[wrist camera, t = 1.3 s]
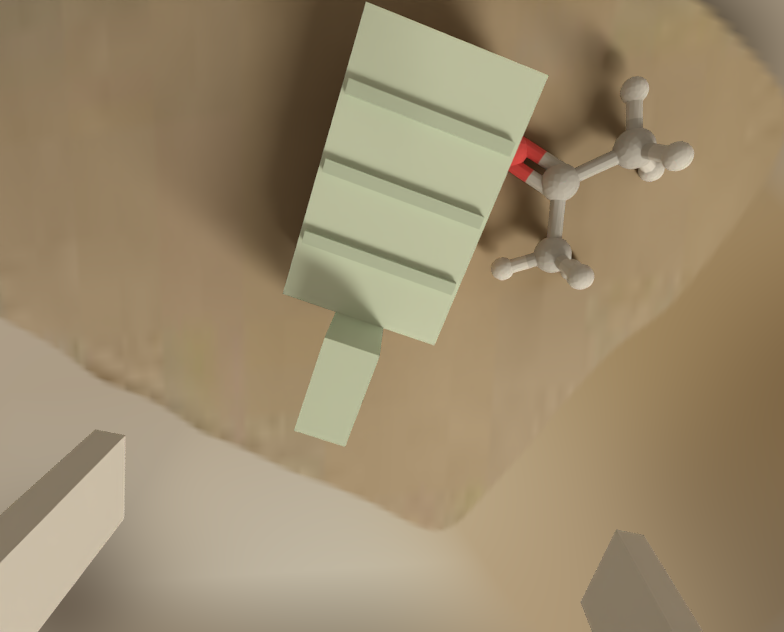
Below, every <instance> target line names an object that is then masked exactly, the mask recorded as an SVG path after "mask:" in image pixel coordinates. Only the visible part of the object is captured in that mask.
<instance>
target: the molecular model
mask: <svg viewBox="0 0 784 632" xmlns="http://www.w3.org/2000/svg"><path fill="white" fill-rule="evenodd" d="M648 91H649V84H648V82H647V81H646V79H644V78H643V77H639V76H636V77H631V78H630V79H628V80H627V81H626V82H625V83H624V84H623V85H622V88H621V90H620V97H621V99H622V101H623V102H624V103H626V131H625V132H623V133H622V134H621V135H620V136H619V137H618V138H617V140H616V141H615V144H614V146H613V150H612V151H610V152H608V153H606V154H604V155H602V156H599V157H597V158H595V159H593V160H591V161H589V162H587V163H584V164H582V165H580V166H578V167H576V168H574V167H573V166H571V165H569V164H566V163H564V162H563V161H561V160H559V159H558V158H556V157H555V156H553V155H552V154H550V153H549V152H547V151H546V150H544V149H542V148H541V147H539V146H538V145H536V144H535V143H533V142H532V141H530V140H529V139H527V138H525V137H524V136H523V137H522V139H521V142H520V144H519V146H518V149H517V151H516V154H515V156H514V158H513V161H512V163H511V165H510V168H509V170H508V171H509V172H511V173H512V174H514V175H515V176H516V177H518V178H519V179H521V180H522V181H524V182H525V183H527V184H528V185H530V186H531V187H533V188H534V189H536V190H537V191H539V192H540V193H542V194H543V195H544V196H545V197H546V198H547V199H549V200H551V201H550V211H549V221H548V231H547V238H544V239H543V240H541V241H540V242H539V243H538V244H537V246H536V248H535V250H534V253H531V254H528V255H525V256H521V257H518V258H514V259H511V260H509V259H508V258H504V257H502V258H498V259H496V260H495V261H494V262H493V264H492V266H491V272H492V274H493V276H494V277H495V278H497V279H499V280H506V279H508V278H510V277H511V276H512V274H513V273H514V272H517V271H521V270H524V269H528V268H532V267H535V266H538V267H539V268H540V269H541V270H543V271H545V272H550V273H554V272H558V271H560V273H561V275H562V277H563V278H564V279H566V280H567V282H568V283H569V285H570V286H571V287H572V288H575V289H585V288H587V287H589V286H590V285H591V284H592V282H593V280H594V272H593V270H592V269H591V268H590V267H589V266H588V265H585V264H581V263H580V262H579V261H578V260H576V259H571V255H572V251H571V247H570V245H569V244H568V243H567V242H566V240H564V239H562V230H563V221H564V211H565V201H566V200H568V199H570V198H571V197H572V196H573V195H574V194H575V193H576V192H577V190H578V188H579V184H580V181H582V180H584V179H586V178H589V177H591V176H593V175H595V174H597V173H600V172H602V171H604V170H606V169H609V168H611V167H613V166H615V165H617V164H618V165H620V166H621V167H623V168H626V169H636V168H638V174H639V177H640V178H641V179H642V180H644V181H649V182H651V181H655V180H657V179H659V178H660V177H661V176H662V174H663V173H664V169H665V168H666V169H668V170H670V171H679V170H682V169H684V168H686V167H687V166H689V165H690V163H691V162H692V160H693V158H694V150H693V148H692V147H691V146H690V145H689V144H688V143H686V142H683V141H678V142H674V143H672V144H670V145H662V144H657V143H656V139H655V136H654V135H653V134H652V132H651V131H649V130H647V129H644V128H643V100H644V99H645V97H646V96H647V94H648ZM526 158H529V159H530V160H532V161H533V162H535V163H536V164H538V165H539V166H541V167H543V168H544V169H546V171H545V172H544V174H543V176H542V175H541V174H539V173H538V172H536V171H535V170H533V169H532V168H530V167H528V166H527V165H525V164H524V163H523V162H524V160H525V159H526Z"/></svg>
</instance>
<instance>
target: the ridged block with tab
mask: <svg viewBox="0 0 784 632" xmlns="http://www.w3.org/2000/svg"><path fill="white" fill-rule="evenodd" d="M548 76H549V75H546V74H544V73H541V72H539V71H536V70H534V69H531V68H529V67H526V66H524V65H521V64H519V63H516V62H514V61H512V60H509V59H507V58H504V57H502V56H499V55H497V54H494V53H492V52H489V51H487V50H484V49H482V48H479V47H477V46H475V45H472V44H470V43H467V42H465V41H462V40H460V39H457V38H455V37H452V36H450V35H447V34H445V33H442V32H440V31H438V30H435V29H433V28H430V27H428V26H425V25H423V24H420V23H418V22H415V21H413V20H410V19H408V18H405V17H403V16H401V15H398V14H396V13H393V12H391V11H388V10H386V9H383V8H381V7H378V6H376V5H373V4H371V3H368V2H366V3H365V7H364V10H363V14H362V17H361V21H360V24H359V28H358V32H357V35H356V39H355V42H354V46H353V49H352V53H351V56H350V60H349V63H348V67H347V70H346V74H345V77H344V81H343V84H342V88H341V91H340V95H339V98H338V102H337V105H336V109H335V112H334V116H333V119H332V123H331V126H330V130H329V133H328V137H327V140H326V144H325V147H324V151H323V154H322V158H321V161H320V165H319V168H318V172H317V175H316V179H315V182H314V186H313V190H312V193H311V197H310V200H309V204H308V207H307V211H306V214H305V218H304V221H303V225H302V228H301V232H300V235H299V239H298V242H297V246H296V249H295V253H294V256H293V260H292V263H291V267H290V270H289V274H288V277H287V281H286V284H285V288H284V291H283V294H285V295H288V296H291V297H294V298H297V299H300V300H303V301H306V302H308V303H311V304H314V305H317V306H320V307H323V308H326V309H329V310H332V311H335V312H336V313H335V315H334V317H333V320H332V322H331V324H330V327H329V329H328V331H327V333H326V336H325V338H324V341H323V344H322V347H321V350H320V353H319V356H318V359H317V363H316V366H315V369H314V372H313V375H312V378H311V381H310V384H309V387H308V390H307V393H306V396H305V399H304V402H303V405H302V408H301V411H300V414H299V417H298V420H297V423H296V426H295V429H294V431H297V432H300V433H303V434H306V435H310V436H313V437H316V438H319V439H322V440H325V441H329V442H332V443H335V444H338V445H341V446H346V443H347V440H348V438H349V435H350V432H351V430H352V427H353V425H354V422H355V419H356V417H357V414H358V411H359V409H360V406H361V404H362V401H363V398H364V396H365V393H366V390H367V388H368V385H369V383H370V380H371V377H372V375H373V372H374V369H375V367H376V364H377V362H378V359H379V356H380V349H381V342H382V334H383V328H385V329H388V330H391V331H394V332H396V333H399V334H402V335H405V336H408V337H411V338H414V339H417V340H420V341H423V342H426V343H429V344H432V345H435V343H436V340H437V338H438V336H439V333H440V331H441V328H442V326H443V324H444V321H445V319H446V317H447V314H448V312H449V310H450V307H451V305H452V302H453V300H454V298H455V295H456V293H457V291H458V288H459V286H460V284H461V281H462V279H463V276H464V274H465V272H466V269H467V267H468V265H469V262H470V260H471V258H472V255H473V253H474V250H475V248H476V246H477V243H478V241H479V239H480V236H481V234H482V232H483V229H484V227H485V224H486V222H487V220H488V217H489V215H490V213H491V210H492V208H493V206H494V203H495V201H496V198H497V196H498V194H499V191H500V189H501V187H502V184H503V182H504V180H505V177H506V175H507V172H508V170H509V168H510V165H511V163H512V161H513V158H514V156H515V154H516V151H517V149H518V146H519V144H520V142H521V139H522V137H523V135H524V132H525V130H526V128H527V125H528V123H529V120H530V118H531V116H532V113H533V111H534V109H535V106H536V104H537V102H538V99H539V97H540V94H541V92H542V90H543V87H544V85H545V83H546V80H547V78H548Z"/></svg>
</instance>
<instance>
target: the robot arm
mask: <svg viewBox="0 0 784 632" xmlns="http://www.w3.org/2000/svg"><path fill="white" fill-rule="evenodd" d="M124 494H125V435H120V434H115V433H110V432H105V431H99V430H94V431H93V432H92V433H91V434H90V435H89V436H88V437H86V438H85V439H84V440H83V441H82V442H81V443H80V444H79V445H78V446H76V447H75V448H74V449H73V450H72V451H71V452H70V453H69V454H68V455H66V456H65V457H64V458H63V459H62V460H61V461H60V462H59V463H58V464H56V465H55V466H54V467H53V468H52V469H51V470H50V471H49V472H48V473H46V474H45V475H44V476H43V477H42V478H41V479H40V480H39V481H38V482H36V484H34V485H33V486H32V487H31V488H30V489H29V490H28V491H27V492H25V493H24V494H23V495H22V496H21V497H20V498H19V499H18V500H16V501H15V502H14V503H13V504H12V505H11V506H10V507H9V508H8V509H7V510H5V511H4V512H3V513H2V514H1V515H0V632H38V631H39V629H40V628H41V627H42V625H43V624H44V623H45V621H46V620H47V619H48V617H49V616H50V615H51V614H52V612H53V611H54V610H55V608H56V607H57V605H58V604H59V603H60V602H61V600H62V599H63V598H64V596H65V595H66V594H67V593H68V591H69V590H70V589H71V587H72V586H73V585H74V583H75V582H76V581H77V580H78V578H79V577H80V575H81V574H82V573H83V572H84V570H85V569H86V568H87V566H88V565H89V564H90V563H91V561H92V560H93V558H94V557H95V556H96V555H97V553H98V552H99V551H100V549H101V548H102V547H103V546H104V544H105V543H106V541H107V540H108V539H109V537H110V536H111V535H112V533H113V532H114V531H115V530H116V528H117V527H118V526H119V524H120V523H121V522H122V520H123V519H124V502H125V500H124V499H125V495H124ZM581 604H582V607H583V609H584V612H585V615H586V617H587V620H588V623H589V625H590V628H591V630H592V632H703V631H702V629H701V627H700V626H699V624H698V623H697V621H696V619H695V618H694V616H693V614H692V613H691V611H690V610H689V608H688V606H687V605H686V603H685V602H684V600H683V598H682V597H681V595H680V593H679V592H678V590H677V589H676V587H675V585H674V584H673V582H672V580H671V579H670V577H669V576H668V574H667V572H666V571H665V569H664V567H663V566H662V564H661V563H660V561H659V560H658V558H657V556H656V555H655V553H654V551H653V550H652V548H651V546H650V545H649V543H648V542H647V540H646V538H645V537H644V535H641V534H636V533H631V532H625V531H620V530H616V531H615V533H614V535H613V537H612V539H611V541H610V544H609V546H608V548H607V550H606V552H605V554H604V556H603V558H602V560H601V562H600V564H599V566H598V568H597V570H596V572H595V574H594V576H593V578H592V580H591V582H590V584H589V586H588V588H587V590H586V593H585V595H584V596H583V598H582V601H581Z"/></svg>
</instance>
